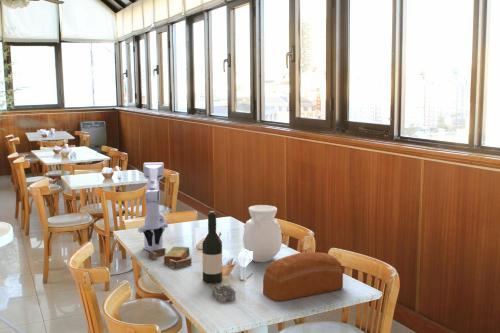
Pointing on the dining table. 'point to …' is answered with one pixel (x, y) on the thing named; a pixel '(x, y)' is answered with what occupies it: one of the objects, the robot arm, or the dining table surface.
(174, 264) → the frame
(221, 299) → the grey rock
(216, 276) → the wine bottle
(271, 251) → the white ceramic rounded jar
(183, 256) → the carton
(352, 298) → the dining table surface
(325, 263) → the bread
